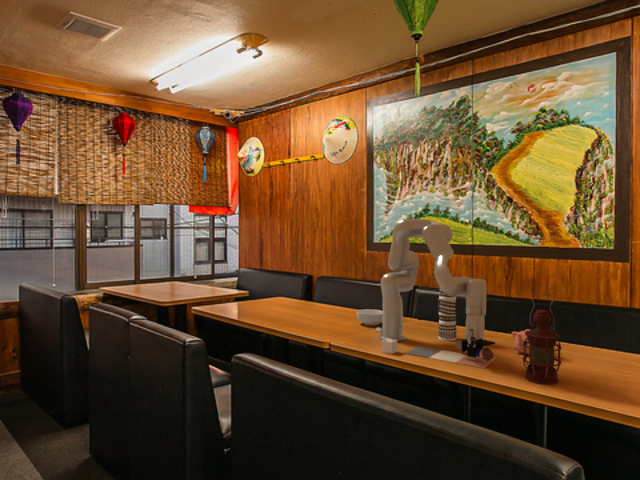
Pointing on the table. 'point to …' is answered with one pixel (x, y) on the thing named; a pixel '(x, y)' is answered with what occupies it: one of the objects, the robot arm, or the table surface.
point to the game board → (449, 356)
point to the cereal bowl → (370, 316)
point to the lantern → (542, 349)
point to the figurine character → (483, 353)
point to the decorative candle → (447, 317)
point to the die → (389, 346)
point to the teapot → (520, 341)
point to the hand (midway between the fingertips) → (475, 354)
